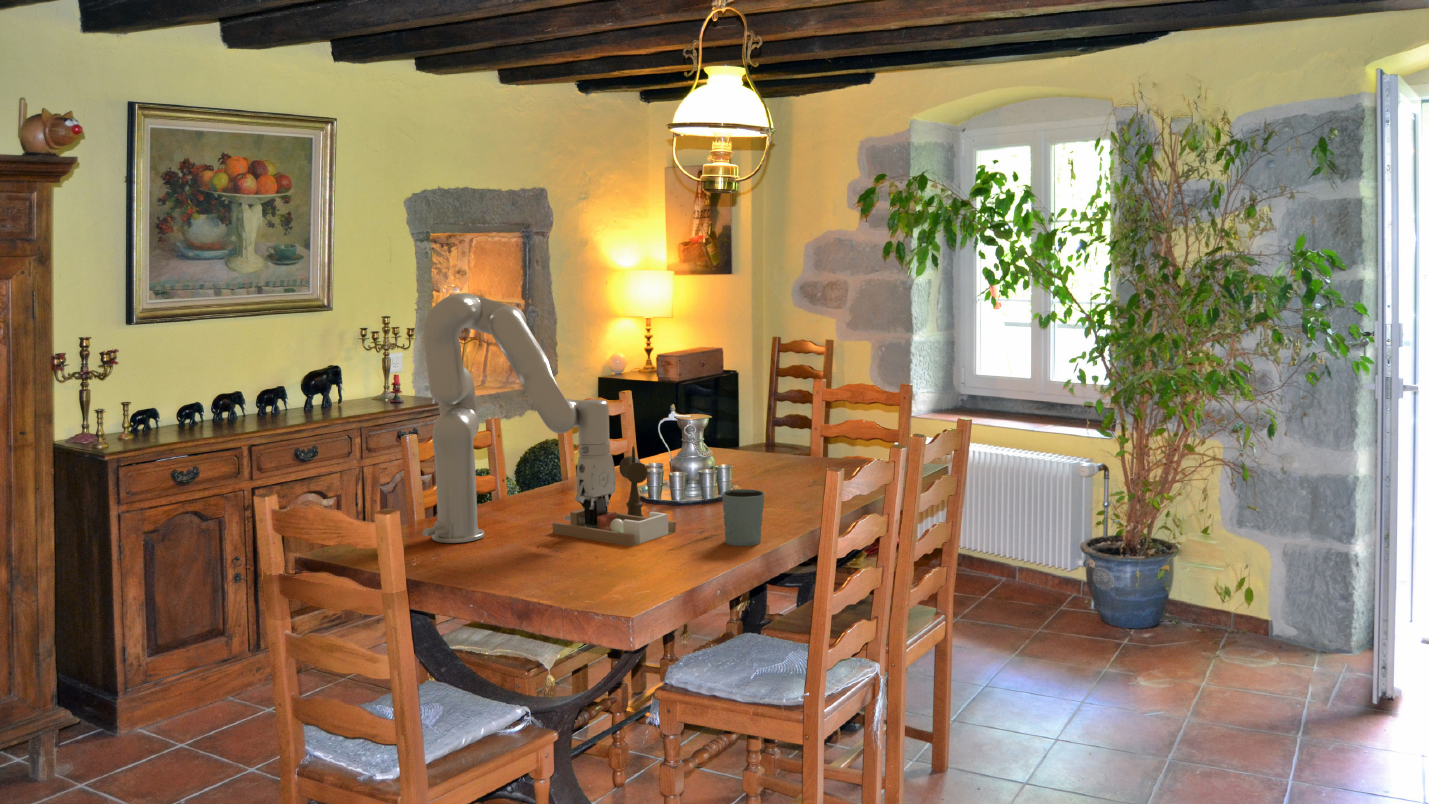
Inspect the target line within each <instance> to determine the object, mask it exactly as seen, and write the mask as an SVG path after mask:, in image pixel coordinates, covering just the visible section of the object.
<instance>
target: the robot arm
mask: <svg viewBox="0 0 1429 804" xmlns="http://www.w3.org/2000/svg"><path fill="white" fill-rule="evenodd" d="M423 324H424V325H423V332H422V333H423V335H422V336H423V345H424V352H425V364H426V371H427V376H428V377H427V378H428V388H429V393H430V395H431V397H432V398H433V400H434V401H435V402H436V403H437V404H438V410H439V416H438V417H437V419H436V420H435V421H434V424H433V427H432V434H431V436H432V438H431V439H432V446H433V452H434V453H433V455H434V466H435V484H436V485H435V486H436V507H437V508H436V510H437V521H434V525H432V527H428V528H424V529H423V530H422V535H423V536H424V537H426V538H427V537H431V539H432V540H433V542H434V541H435V542H437V543H441V544H442V543H443V544H444V543H445V544H458V543H459V544H460V543H468V542H473V541H477V540H481V539H483V538H484V537H485V531H484V530H483V529H481V528H479V527H478V505H477V504H478V502H477V500H478V499H477V479H476V478H477V477H476V475H477V474H476V459H475V458H476V457H475V449H474V439H475V437H476V435H477V434H478V432H479V428H480V419H479V418H480V417H479V411H478V405H477V404H478V402H477V395H476V390H475V389H476V388H475V382H474V378H473V376H472V374H471V372H470V371H469V370H468V369H467V368H466V367H465V366H464V362H463V356H462V355H463V354H462V347H461V343H460V333H461V330H462V331H463V329H469V330H473V331H476V332H479V333H480V332H481V333H484V334H488V335H491V336H492V338H493V339H494V341H495V342H496V344H497V346H498V348H499V349H500V351H501V353H502V354H503V355H504V356H505V358H506V360H507V362H508V363H509V365H510V366H511V368H512V369H513V372H514V373H515V374H516V377H517V379H518V381H519V383H520V385H521V386H522V388H523V390H524V392H525V393H526V395H527V397H528V398H529V399H528V400H529V401H530V402H531V404H532V406H533V407H534V409H535V411H536V412H537V414H538V415H539V417H540V419H541V420H542V422H543V423H544V424H545V426H546V427H547V428H548V429H549V430H550V431H551V432H553V433H556V434H565V433H568V432H569V431H571V430H572V429H573V428H578V449H577V451H578V457H577V458H578V459H577V466H576V495H575V499H574V500H575V501H576V502H577V503H579V504H580V505H581V507H582V509H583V510H584V512H585V524H587V525H596V509H594V500H595V498H596V497H598V498H605V499H606V514H607V512H608V506H609V505H610V500H611V497H613V494H614V493H615V492H616V490H617V489H616V488H617V485H616V484H617V483H616V481H617V480H616V471H615V463H614V459H613V454H612V453H611V451H610V449H611V447H610V446H611V445H610V410H609V409H610V407H609V404H608V403H609V402H607V401H606V400H604V399H593V398H592V399H591V398H590V399H584V400H582V399H581V400H578V399H570V398H566V397H565V396H564V394H563V393H562V392H563V391H562V390H561V389H560V387H559V385H558V384H557V382H556V380H555V377H554V376H553V373H552V369H551V365H550V361H549V359H548V356H547V354H546V353H545V351H544V350H543V348H542V347H541V345H540V344H539V342H538V341H537V340H536V338H535V336H534V334H533V333H532V331H531V329H530V328H529V326H528V324H527V317H526V315H525V314H524V312H523V311H522V310H521V308H518V307H517V306H513V305H509V304H506V303H503V302H499V301H495V300H492V299H489V298H485V297H483V296H479V295H476V294H472V293H467V292H463V293H462V292H461V293H460V292H459V293H453V294H451V295H448V296H446V297H444V298H443V299H441V300H440V301H438V302H436V304H435V305H434V306H432V308H431V309H430V310H429V312H428V313H427V315H426V318H425V319H424V323H423ZM588 499H590V503H589V501H588Z"/></svg>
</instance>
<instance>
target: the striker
mask: <svg viewBox="0 0 1429 804" xmlns="http://www.w3.org/2000/svg"><path fill="white" fill-rule="evenodd" d="M588 501H589V503H590V499H588ZM594 509H596V525H587V524H586V527H589V528H595V529H601V530H611V528H610V524H611V522H612V521H613V520H614V519H616V513H617V511H609V512H610V513H607V514H606V499H605V498H598V497H596V498H595V500H594ZM564 520H565V521H570V522H571V518H570V515H565V516H564ZM579 522H581V523H585V518H580V517H579Z"/></svg>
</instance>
